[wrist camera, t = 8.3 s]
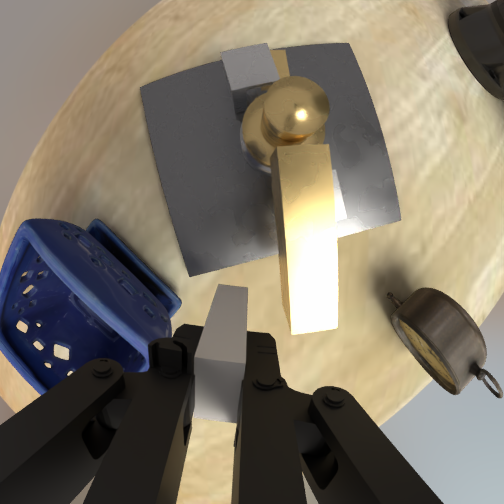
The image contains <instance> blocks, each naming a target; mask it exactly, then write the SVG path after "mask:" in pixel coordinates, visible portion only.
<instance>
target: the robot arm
mask: <svg viewBox="0 0 504 504" xmlns="http://www.w3.org/2000/svg"><path fill="white" fill-rule="evenodd" d="M448 25H449V30H450V33H451V36H452V39H453V41H454V43H455V45H456V47H457V49H458V51H459V53H460V55H461V57H462V58H463V60H464V61H465V63H466V65H467V66H468V68H469V69H470V70H471V72H472V73H473V75H474V76H475V77H476V78H477V80H478V81H479V82H480V83H481V84H482V85H483V86H484V87H485V89H487V90H488V91H489V92H490V93H491V94H492V95H494V96H495V97H497V98H498V99H501V100H504V0H496V1H494V2H493V3H491V4H488V5H478V6H470V7H463V8H460V9H458V10H456V11H455V12H453V13H452V14H451V15H450V16H449V19H448ZM247 303H248V288H247V287H239V286H230V285H222V284H218V287H217V290H216V293H215V296H214V299H213V302H212V305H211V308H210V311H209V314H208V317H207V320H206V323H205V326H204V327H203V326H196V325H189V324H183V325H182V326H180V327H179V328H177V329H176V331H175V333H174V335H173V337H172V338H169V337H165V338H158V339H156V340H153V341H151V342H150V343H149V344H148V357H149V369H148V371H145V372H123V368H122V366H121V364H119V363H118V362H116V361H115V360H112V359H108V358H98V359H93V360H91V361H89V362H87V363H86V364H84V365H83V366H82V367H80V368H79V369H77V370H76V371H75V372H73V373H72V374H70V375H69V376H68V377H66V378H65V379H64V380H62V381H61V382H59V383H58V384H57V385H55V386H54V387H52V388H51V389H50V390H48V391H47V392H45V393H44V394H43V395H41V396H40V397H38V398H37V399H36V400H34V401H33V402H32V403H30V404H29V405H27V406H26V407H25V408H23V409H22V410H21V411H19V412H18V413H16V414H15V415H14V416H12V417H11V418H10V419H8V420H7V421H5V422H4V423H3V424H1V425H0V504H70V503H71V502H72V500H74V498H75V497H76V496H77V495H78V494H79V493H80V492H81V491H82V490H83V489H84V487H85V486H86V485H87V484H88V483H89V482H90V481H91V480H92V479H93V477H94V476H95V478H94V480H93V482H92V485H91V487H90V489H89V491H88V493H87V496H86V498H85V500H84V502H83V504H176V501H177V496H178V491H179V486H180V481H181V476H182V472H183V467H184V462H185V458H186V453H187V448H188V444H189V439H190V435H191V430H192V416H193V412H194V418H200V419H206V420H214V421H222V422H231V423H237V427H236V433H235V440H234V447H235V449H234V465H233V482H232V500H231V504H307V501H306V494H305V488H304V481H303V475H302V472H303V474H304V476H305V478H306V480H307V482H308V484H309V486H310V488H311V490H312V492H313V494H314V496H315V497H316V499H317V501H318V503H319V504H444V503H443V502H441V500H440V499H439V498H438V497H437V496H436V494H435V493H434V492H433V491H432V490H431V489H430V487H429V486H428V485H427V484H426V483H425V482H424V481H423V479H422V478H421V477H420V476H419V475H418V473H417V472H416V471H415V470H414V469H413V468H412V466H411V465H410V464H409V463H408V462H407V461H406V459H405V458H404V457H403V456H402V455H401V454H400V452H399V451H398V450H397V449H396V447H395V446H394V445H393V444H392V443H391V442H390V440H389V439H388V438H387V437H386V436H385V435H384V433H383V432H382V431H381V430H380V428H379V427H378V426H377V425H376V424H375V422H374V421H373V420H372V419H371V418H370V416H369V415H368V414H367V413H366V412H365V410H364V409H363V408H362V407H361V406H360V404H359V403H358V402H357V401H356V399H355V398H354V397H353V396H352V395H351V394H350V393H349V392H348V391H346V390H344V389H341V388H339V387H334V386H324V387H321V388H318V389H317V390H316V391H315V392H314V393H313V395H309V394H305V393H301V392H298V391H295V390H293V389H291V388H289V387H288V386H287V383H286V381H285V379H284V378H282V377H281V374H280V367H279V361H278V355H277V349H276V342H275V339H274V338H273V337H272V336H271V335H270V334H269V333H260V332H250V331H247Z"/></svg>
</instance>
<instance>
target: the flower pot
mask: <svg viewBox="0 0 504 504" xmlns="http://www.w3.org/2000/svg"><path fill="white" fill-rule="evenodd" d="M39 256H40V257H39ZM38 257H39V258H38ZM27 271H28V273H27V274H26V275H25V276H22V274H23V273H24V272H27ZM42 271H44V272H43V273H42V274H39V275H38V273H39V272H42ZM21 276H22V277H21ZM29 285H33V286H34V287H33V288H32V289H31V290H30V291H29V292H27V293H26V294H23V292H24V291H25V289H26V288H27V287H28V286H29ZM181 304H182V302H181V299H180V298H179V297H178V296H177V295H176V294H175V293H174V292H173V291H172V290H171V289H170V288H169V287H168V286H166V285H165V284H164V283H163V282H162V281H161V280H160V279H159V278H158V277H157V276H156V275H155V274H154V273H153V272H152V271H151V270H150V269H149V268H148V267H147V266H146V265H145V264H144V263H143V262H142V261H141V260H140V259H139V258H138V257H137V256H136V255H135V254H134V253H133V252H132V251H131V250H130V249H129V248H128V247H127V246H126V245H125V244H124V243H123V242H122V241H121V240H120V239H119V238H118V237H117V236H116V235H115V234H114V233H113V232H112V231H111V230H110V229H109V228H108V227H107V226H106V225H105V224H104V223H103V222H102V221H100V220H99V219H94V220H93V221H92V222H91V224H90V225H89V226H88V228H87V229H86V231H85V230H83V229H82V228H80V227H78V226H76V225H74V224H71V223H68V222H64V221H60V220H54V219H29V220H26V221H24V222H23V223H22V224H21V225H20V227H19V229H18V230H17V232H16V235H15V237H14V239H13V241H12V243H11V245H10V248H9V250H8V253H7V255H6V258H5V260H4V263H3V266H2V269H1V272H0V350H1V352H2V353H3V354H4V355H5V357H6V358H7V359H8V361H9V362H10V363H11V364H12V365H13V366H14V368H15V369H16V370H17V371H18V372H19V373H20V374H21V376H22V377H23V378H24V379H25V380H26V381H27V382H28V383H29V384H30V385H31V386H32V387H33V388H34V389H35V390H36V391H37V392H38V393H39V394H40V395H43V394H44V393H45V392H47V391H48V390H50V389H51V388H52V387H54V386H55V385H57V384H58V383H59V382H61V381H62V380H64V379H65V378H66V377H68V375H67V373H68V372H69V371H73V372H75V371H76V370H77V369H79V368H80V367H82V366H83V365H84V364H86V363H87V362H89V361H91V360H93V359H98V358H108V359H112V360H115V361H116V362H118V363H119V364H121V366H122V368H123V372H145V371H148V369H149V357H148V344H149V343H150V342H151V341H153V340H156V339H158V338H165V337H169V338H172V327H171V321H170V318H171V317H172V316H173V315H174V314H175V313H176V312H177V310H178V309H179V308H180V306H181ZM19 320H20V321H22V322H24V323H25V324H26V325H27V326H28V329H27V332H26V333H24V332H22V331H20V330H19V329H17V327H16V325H17V323H18V322H19ZM36 323H39V324H40V325H41V326H40V327H38V326H37V324H36ZM35 341H38V342H40V344H41V345H42V346H43V347H44V348H43V349H42V350H38V349H37V348H36V347H35V346H34V345H33V343H34V342H35ZM54 344H57V345H61V346H64V347H66V348H68V349H69V360H64V359H61V358H58V357H56V356H55V355H54ZM44 363H49V364H51V368H48V367H46V366H45V364H44Z"/></svg>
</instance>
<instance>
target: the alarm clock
mask: <svg viewBox="0 0 504 504" xmlns="http://www.w3.org/2000/svg"><path fill="white" fill-rule="evenodd" d="M387 298H389V299H391V301H392V303H393V304H394V305H395V306H396V307H397V308H398V309H397V310H396V311H395V312H394V313H393V314H392V315H391V321H392V324H393V327H394V329H395V330H396V332H397V334H398V335H399V337H400V338H401V340H402V341H403V343H404V344H405V346H406V347H407V348H408V350H409V351H410V352H411V353H412V355H413V356H414V357H415V359H416V360H417V361H418V362H419V363H420V365H421V366H422V367H423V368H424V369H425V371H426V372H427V373H428V374H429V375H430V376H431V377H432V378H433V379H434V380H435V381H436V382H437V383H438V384H439V385H440V386H442V387H443V388H444V389H445V390H446V391H448V392H449V393H451V394H453V395H458V394H459V393H460V392H461V391H462V390H463V389H464V388H465V386H466V385H467V384H468V383H469V382H470V381H471V380H472V379H473V378H474V377H475V376H476V377H477V379H478V380H483V382H484V384H485V385H486V386H487V388H488V389H489V390H490V391H491V392H492V393H493V394H494V395H495V396H496V397H497V398H502V397H503V392H502V390H501V388H500V386H499V384H498V382H497V381H496V379H495V378H493V376H492V375H491V374H490V373H489V372H488V371H486V370H485V369H482V367H483V366H484V364H485V362H486V356H487V351H486V345H485V341H484V339H483V336H482V334H481V332H480V330H479V328H478V326H477V325H476V323H475V322H474V320H473V319H472V318H471V316H470V315H469V314H468V313H467V312H466V311H465V310H464V309H463V308H462V307H461V306H460V305H459V304H458V303H457V302H456V301H455V300H453V299H452V298H451V297H449V296H448V295H446V294H445V293H443V292H441V291H439V290H436V289H433V288H420V289H418V290H416V291H415V292H414V293H413V294H412V295H411V296H410V297H409V298H408V299H407V300H406V301H405V302H404V303H403V304H402V303H401V302H400V301H399V300H398V299H396V298H395V297H393V294H392V293H388V294H387ZM485 375H487V376H488V377H489V379H490V380H491V381H492V382H493V384H494V385H495V386H496V388H497V390H498V391H499V393H497V392H496V391H495V390H494V389H492V388H491V386H490V385H489V384H488V383H487V382H486V380H485V378H484V377H485Z"/></svg>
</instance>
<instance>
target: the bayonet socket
mask: <svg viewBox="0 0 504 504" xmlns="http://www.w3.org/2000/svg"><path fill="white" fill-rule="evenodd" d="M273 50H285V51H286V57H287V62H288V68H289V74H290V76H300V77H304V78H307V79H310V80H312V81H313V82H315V83H316V84H318V85H319V86H320V87H321V88H322V89H323V91H324V92H325V94H326V95H327V98H328V100H329V106H330V111H329V116H328V119H327V120H326V122H325V123H324V124H325V138H324V142H323V144H329V148H330V157H331V166H332V176H333V187H334V200H335V214H336V232H337V238H339V237H343V236H346V235H350V234H354V233H357V232H361V231H365V230H368V229H372V228H375V227H379V226H383V225H386V224H390V223H393V222H397V221H401V214H400V208H399V202H398V197H397V191H396V186H395V182H394V177H393V172H392V168H391V164H390V160H389V156H388V152H387V148H386V144H385V141H384V137H383V133H382V130H381V127H380V123H379V120H378V117H377V114H376V111H375V108H374V105H373V102H372V99H371V96H370V93H369V90H368V88H367V85H366V82H365V80H364V77H363V75H362V72H361V70H360V67H359V65H358V63H357V60H356V58H355V56H354V53H353V51H352V49H351V47H350V44H349V43H332V44H316V45H305V46H295V47H287V48H280V49H273ZM220 54H221V58H222V60H220V61H216V62H212V63H209V64H205V65H202V66H198V67H195V68H192V69H188V70H185V71H182V72H179V73H176V74H173V75H171V76H168V77H165V78H162V79H160V80H157V81H154V82H152V83H149V84H147V85H144V86H142V87H140V90H141V96H142V101H143V106H144V111H145V116H146V120H147V125H148V130H149V134H150V139H151V143H152V147H153V151H154V156H155V160H156V164H157V168H158V172H159V176H160V179H161V183H162V187H163V191H164V194H165V198H166V202H167V205H168V209H169V212H170V216H171V219H172V223H173V226H174V230H175V233H176V236H177V239H178V243H179V246H180V249H181V252H182V255H183V259H184V262H185V265H186V268H187V271H188V274H189V277H192V276H196V275H200V274H204V273H207V272H211V271H215V270H219V269H223V268H227V267H230V266H234V265H238V264H242V263H246V262H249V261H253V260H257V259H261V258H265V257H268V256H272V255H276V254H279V252H278V240H277V229H276V225H275V214H274V204H273V193H272V176H271V169H270V168H268V167H265V166H263V165H261V164H260V163H258V162H257V161H256V160H255V159H254V158H253V157H252V156H251V155H250V154H249V152H248V151H247V149H246V147H245V144H244V140H243V132H242V122H243V117H244V114H245V112H246V110H247V108H248V106H249V105H250V104H251V103H252V102H253V101H254V100H255V99H256V98H257V97H259V96H260V95H262V94H264V93H267V91H268V90H265V91H261V87H264V86H269V85H272V84H273V83H274V82H276V81H277V80H279V79H280V77H279V75H278V72H277V69H276V66H275V63H274V61H273V58H272V55H271V53H270V50H269V47H268V45H267V43H264V44H258V45H252V46H247V47H242V48H238V49H233V50H229V51H225V52H221V53H220Z"/></svg>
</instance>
